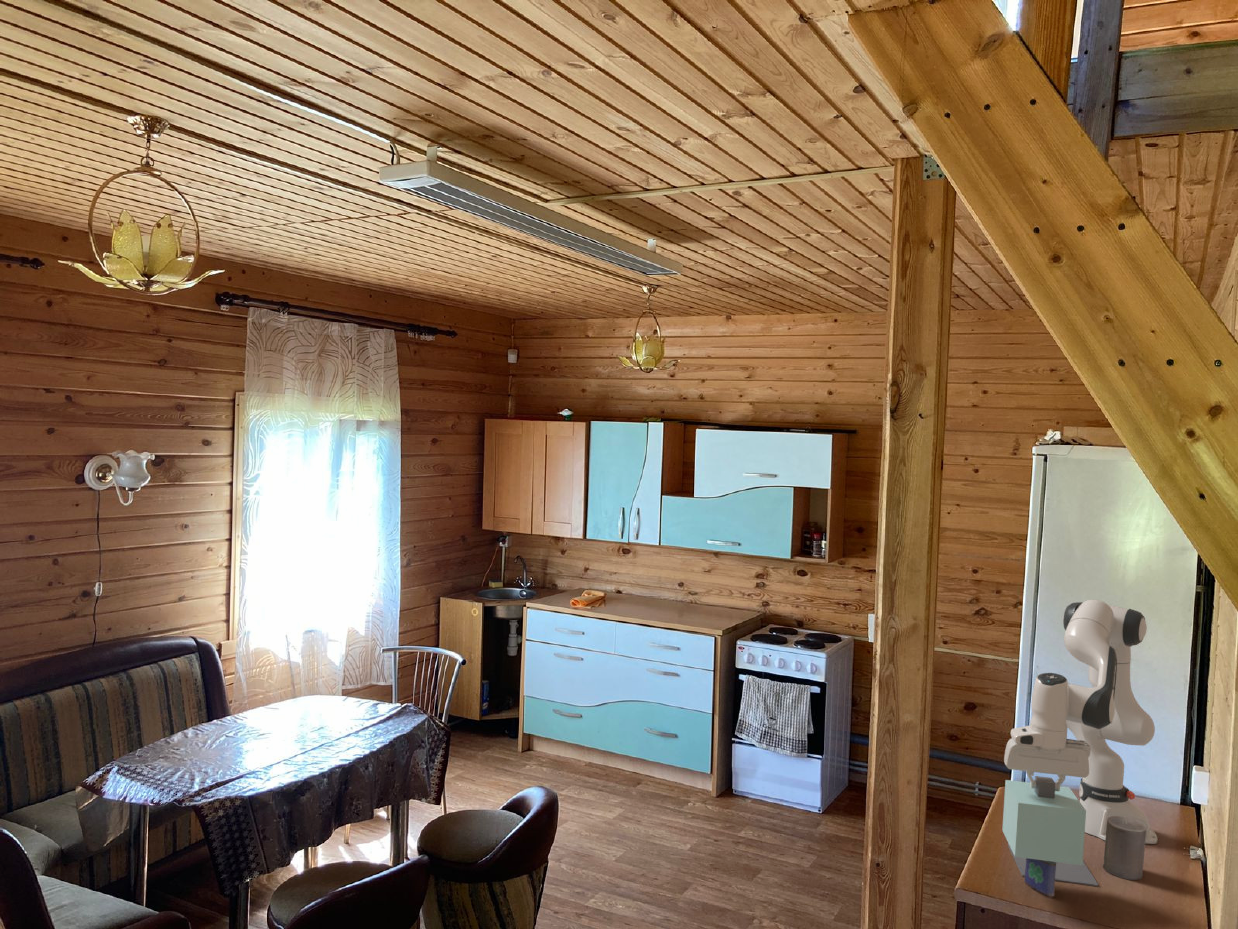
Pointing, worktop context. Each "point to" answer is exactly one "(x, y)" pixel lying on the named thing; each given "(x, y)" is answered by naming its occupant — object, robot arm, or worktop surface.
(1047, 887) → the flask
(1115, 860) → the pillar candle
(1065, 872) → the mat
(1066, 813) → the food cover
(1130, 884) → the worktop surface
